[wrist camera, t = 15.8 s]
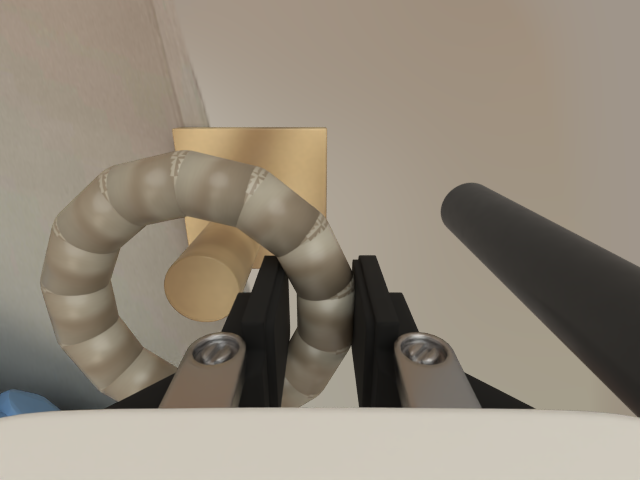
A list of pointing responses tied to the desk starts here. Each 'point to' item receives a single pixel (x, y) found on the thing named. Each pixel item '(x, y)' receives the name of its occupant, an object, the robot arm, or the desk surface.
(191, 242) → the post
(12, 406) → the blue island diorama
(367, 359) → the robot arm
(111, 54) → the desk surface
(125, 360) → the segmented ring
